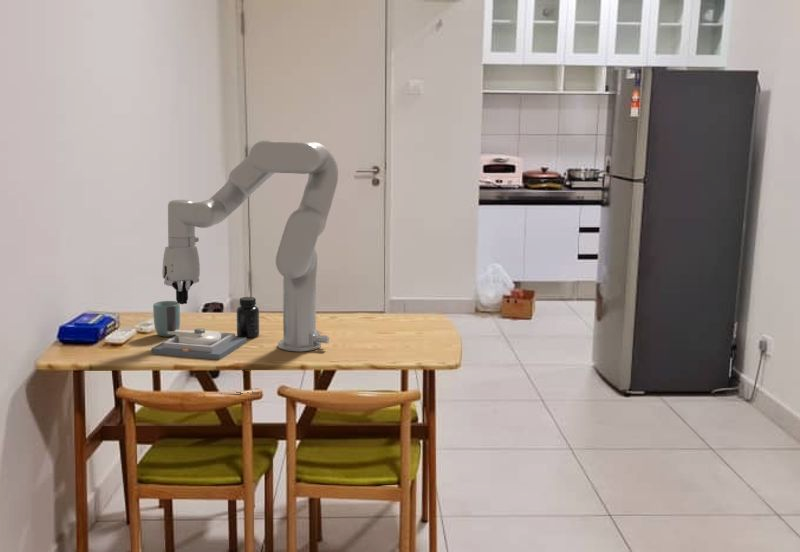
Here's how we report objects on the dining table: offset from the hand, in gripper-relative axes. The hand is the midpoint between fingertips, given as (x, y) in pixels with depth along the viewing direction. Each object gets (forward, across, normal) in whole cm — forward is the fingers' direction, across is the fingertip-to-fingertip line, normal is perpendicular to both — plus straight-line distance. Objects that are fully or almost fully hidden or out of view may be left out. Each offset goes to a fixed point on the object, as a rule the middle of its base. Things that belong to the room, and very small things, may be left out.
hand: (182, 303), depth 232 cm
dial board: (+12, -1, +10) cm, 15 cm away
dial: (+10, +1, +8) cm, 13 cm away
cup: (+12, 0, -9) cm, 15 cm away
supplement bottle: (+12, -18, +7) cm, 23 cm away
